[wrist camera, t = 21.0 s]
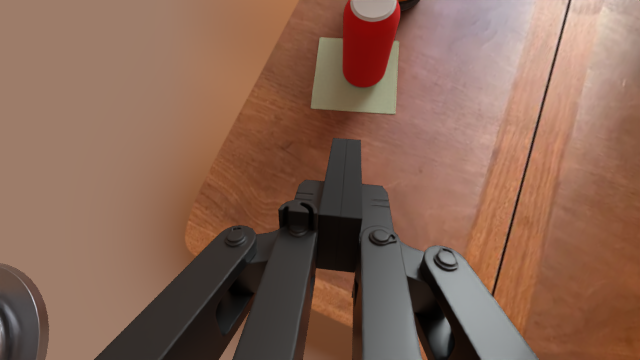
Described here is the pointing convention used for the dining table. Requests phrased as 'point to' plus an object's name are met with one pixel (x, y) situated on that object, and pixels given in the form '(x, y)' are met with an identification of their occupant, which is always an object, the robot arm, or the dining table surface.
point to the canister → (407, 4)
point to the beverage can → (368, 39)
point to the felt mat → (342, 95)
